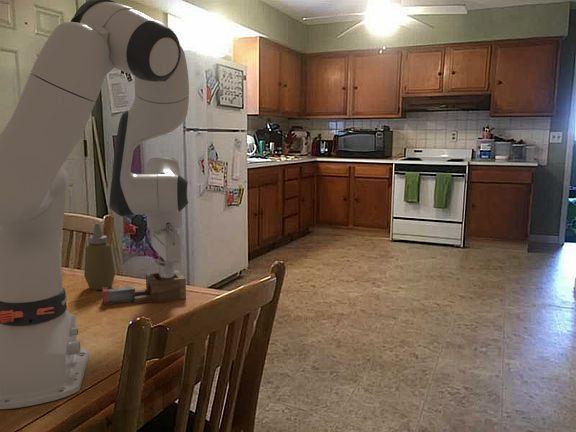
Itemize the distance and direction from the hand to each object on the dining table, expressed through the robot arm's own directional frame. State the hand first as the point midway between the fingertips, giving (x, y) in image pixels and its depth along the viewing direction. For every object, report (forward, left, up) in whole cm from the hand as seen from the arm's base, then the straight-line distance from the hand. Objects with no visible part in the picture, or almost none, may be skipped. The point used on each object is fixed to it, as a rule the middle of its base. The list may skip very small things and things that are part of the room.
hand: (166, 271), depth 135 cm
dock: (0, +2, -7) cm, 7 cm away
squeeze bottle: (+14, +15, -7) cm, 22 cm away
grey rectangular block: (0, +12, -7) cm, 14 cm away
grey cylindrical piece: (0, 0, -7) cm, 7 cm away
